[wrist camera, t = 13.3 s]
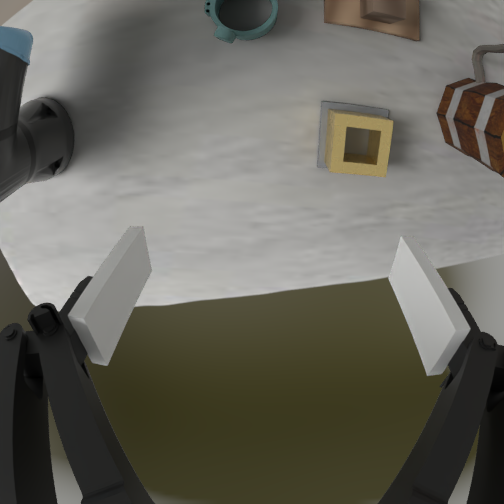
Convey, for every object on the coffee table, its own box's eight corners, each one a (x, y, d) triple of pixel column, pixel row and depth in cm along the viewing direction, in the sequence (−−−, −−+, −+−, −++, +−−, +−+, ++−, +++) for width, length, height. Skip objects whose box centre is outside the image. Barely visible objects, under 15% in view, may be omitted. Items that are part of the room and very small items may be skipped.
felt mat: (317, 166, 44) (317, 167, 44) (321, 101, 39) (322, 101, 38) (379, 171, 44) (380, 173, 43) (387, 109, 38) (388, 110, 38)
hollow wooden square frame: (324, 161, 43) (330, 172, 39) (328, 108, 39) (335, 113, 35) (374, 166, 43) (385, 177, 39) (381, 115, 38) (393, 121, 34)
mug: (493, 157, 39) (546, 191, 27) (435, 153, 41) (486, 189, 28) (495, 51, 29) (555, 59, 16) (432, 35, 31) (491, 31, 18)
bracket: (267, -19, 29) (266, -40, 22) (284, 36, 34) (287, 26, 26) (204, -3, 31) (188, -20, 23) (220, 50, 36) (207, 45, 28)
